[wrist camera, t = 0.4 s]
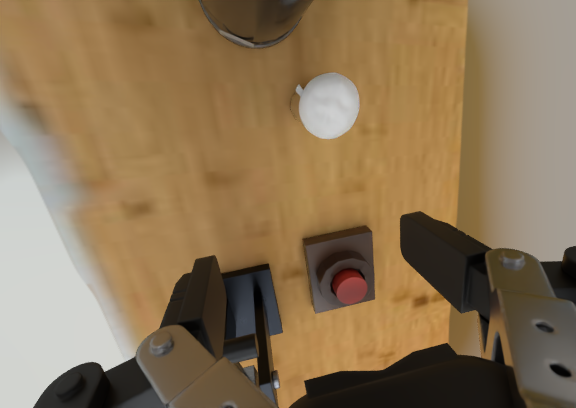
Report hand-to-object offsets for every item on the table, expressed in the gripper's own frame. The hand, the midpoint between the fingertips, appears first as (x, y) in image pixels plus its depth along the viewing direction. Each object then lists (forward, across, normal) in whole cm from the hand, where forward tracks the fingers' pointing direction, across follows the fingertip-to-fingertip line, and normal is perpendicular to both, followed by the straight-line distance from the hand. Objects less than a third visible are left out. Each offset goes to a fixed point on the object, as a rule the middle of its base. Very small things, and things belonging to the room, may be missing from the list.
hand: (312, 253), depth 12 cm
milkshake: (+19, -4, -5) cm, 20 cm away
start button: (+16, -6, +15) cm, 22 cm away
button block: (+19, -6, +15) cm, 25 cm away
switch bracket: (+19, +6, +17) cm, 26 cm away
